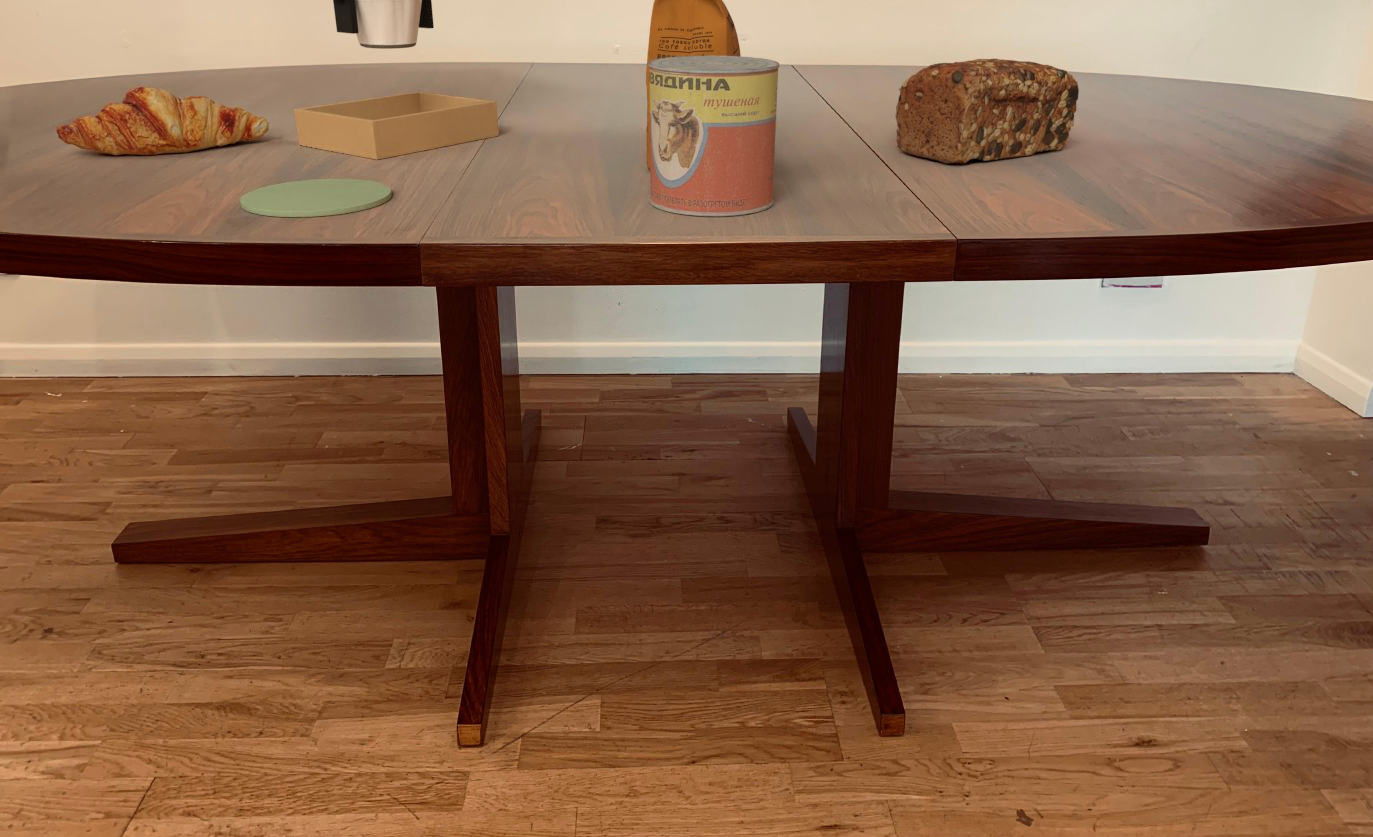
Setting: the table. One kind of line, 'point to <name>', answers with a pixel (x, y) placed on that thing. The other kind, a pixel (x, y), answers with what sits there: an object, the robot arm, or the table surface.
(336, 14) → the robot arm
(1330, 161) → the table surface
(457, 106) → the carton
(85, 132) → the croissant
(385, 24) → the cup
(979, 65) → the bread
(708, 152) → the canned food
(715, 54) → the coffee package
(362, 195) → the mat
